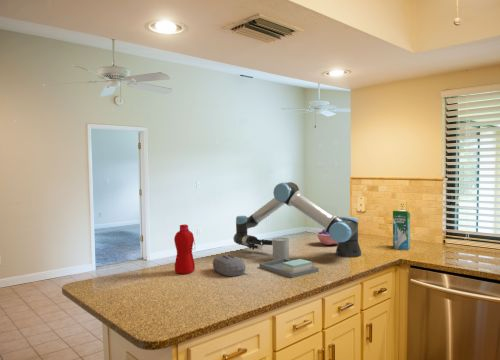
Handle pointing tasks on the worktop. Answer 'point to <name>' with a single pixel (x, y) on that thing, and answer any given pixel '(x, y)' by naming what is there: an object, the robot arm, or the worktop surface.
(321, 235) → the cell model
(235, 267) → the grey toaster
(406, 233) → the milk carton
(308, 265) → the teal sponge
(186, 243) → the water bottle
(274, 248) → the speckled grey can
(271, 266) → the tote tray
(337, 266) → the worktop surface
